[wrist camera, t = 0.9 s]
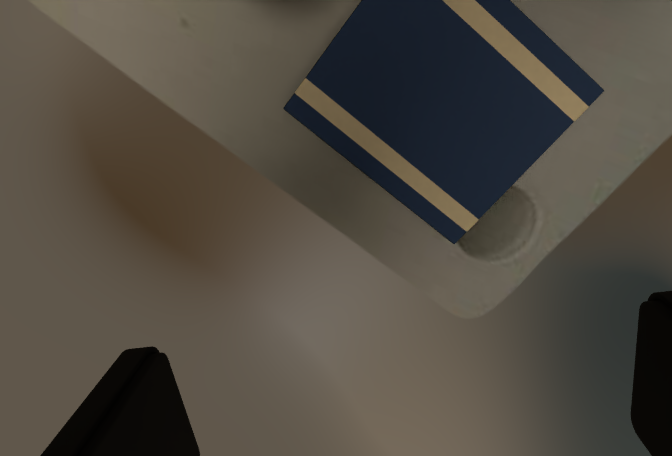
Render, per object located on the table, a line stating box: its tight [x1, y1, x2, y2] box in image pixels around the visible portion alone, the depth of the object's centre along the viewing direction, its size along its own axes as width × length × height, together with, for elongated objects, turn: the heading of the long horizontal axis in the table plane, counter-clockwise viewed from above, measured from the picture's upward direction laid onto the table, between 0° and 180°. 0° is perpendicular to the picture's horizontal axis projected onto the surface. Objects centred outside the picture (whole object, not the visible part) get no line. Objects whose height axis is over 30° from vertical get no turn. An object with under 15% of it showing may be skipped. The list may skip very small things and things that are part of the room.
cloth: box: [284, 0, 604, 244], centre depth 35 cm, size 18×16×1 cm
